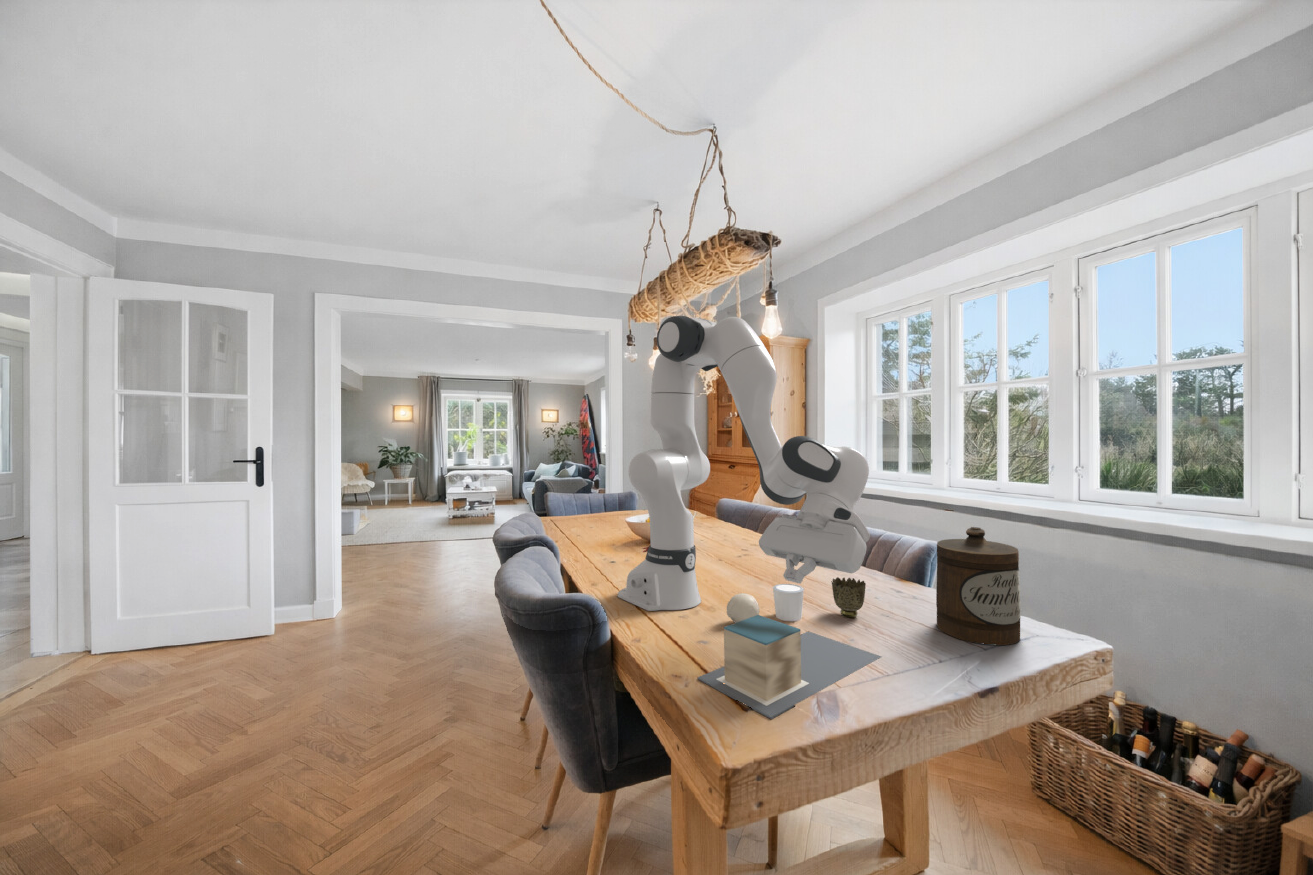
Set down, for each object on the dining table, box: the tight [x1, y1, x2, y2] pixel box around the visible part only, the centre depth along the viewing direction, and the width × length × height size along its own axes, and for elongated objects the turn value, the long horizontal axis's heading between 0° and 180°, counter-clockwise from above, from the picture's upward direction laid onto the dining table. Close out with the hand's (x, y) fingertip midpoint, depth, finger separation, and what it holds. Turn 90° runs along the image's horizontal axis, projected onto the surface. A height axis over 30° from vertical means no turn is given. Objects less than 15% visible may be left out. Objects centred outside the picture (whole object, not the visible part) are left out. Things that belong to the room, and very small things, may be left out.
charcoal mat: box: [697, 631, 883, 720], centre depth 90 cm, size 32×16×1 cm, turn 128°
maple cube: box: [723, 614, 801, 701], centre depth 84 cm, size 9×9×9 cm
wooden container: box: [935, 526, 1021, 646], centre depth 105 cm, size 15×15×22 cm
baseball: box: [726, 592, 760, 623], centre depth 111 cm, size 7×7×7 cm
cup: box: [830, 576, 867, 619], centre depth 115 cm, size 8×7×8 cm
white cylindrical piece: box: [772, 583, 805, 622], centre depth 115 cm, size 7×7×7 cm
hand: (791, 580), depth 90 cm, fingers closed
